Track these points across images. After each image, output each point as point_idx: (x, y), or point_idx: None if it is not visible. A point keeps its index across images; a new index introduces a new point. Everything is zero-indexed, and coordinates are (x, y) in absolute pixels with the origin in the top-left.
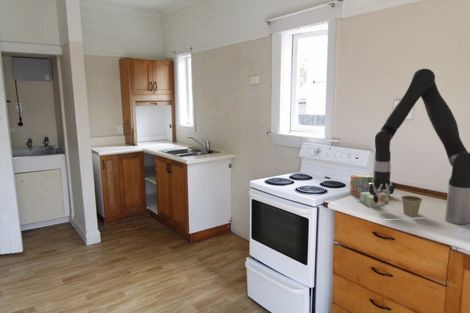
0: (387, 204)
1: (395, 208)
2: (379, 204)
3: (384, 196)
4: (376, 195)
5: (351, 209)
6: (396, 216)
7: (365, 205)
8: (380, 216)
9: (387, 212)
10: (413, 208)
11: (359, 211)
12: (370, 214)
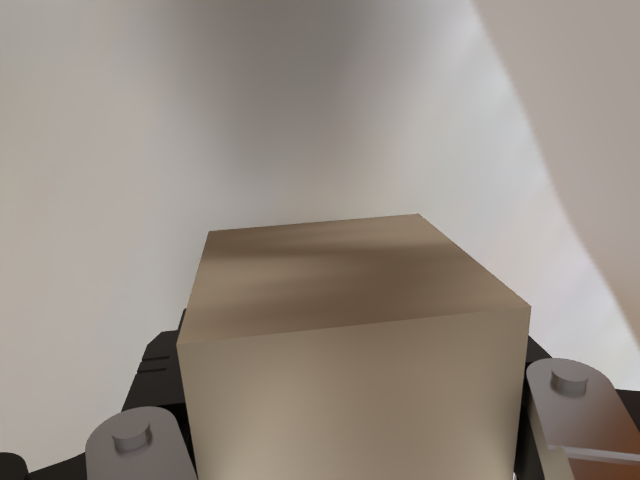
0: (228, 231)
1: (6, 398)
2: (413, 217)
3: (336, 306)
4: (566, 364)
5: (626, 366)
6: (140, 37)
7: None
8: (403, 61)
9: (206, 236)
10: None
11: (575, 292)
12: (501, 164)
